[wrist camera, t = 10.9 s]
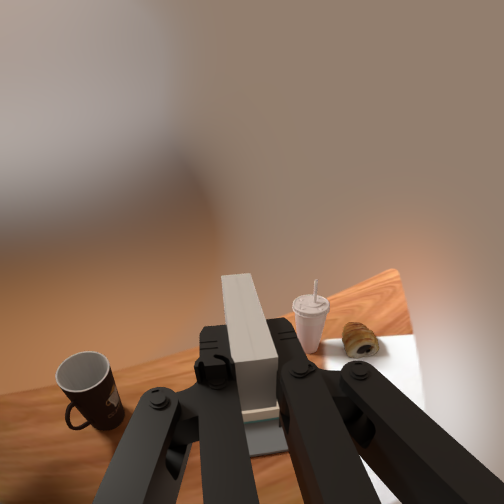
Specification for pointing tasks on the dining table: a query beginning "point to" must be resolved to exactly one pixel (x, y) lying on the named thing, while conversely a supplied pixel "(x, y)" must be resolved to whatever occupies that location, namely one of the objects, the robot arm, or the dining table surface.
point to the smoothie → (310, 319)
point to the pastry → (359, 340)
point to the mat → (265, 438)
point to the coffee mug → (90, 390)
